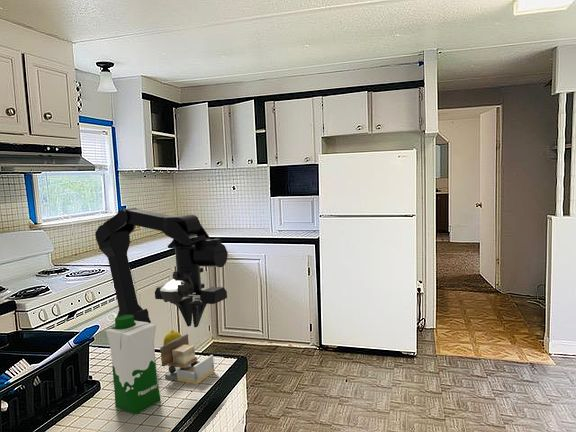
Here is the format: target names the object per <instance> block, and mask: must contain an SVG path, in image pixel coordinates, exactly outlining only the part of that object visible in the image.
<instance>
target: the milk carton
mask: <svg viewBox="0 0 576 432" xmlns="http://www.w3.org/2000/svg"><path fill="white" fill-rule="evenodd" d="M114 322H115V324H114V325H115V326H114V327H113V326H112V327H111V328H109V329H108V328H107V329H106V330H105V331H106V336H107V340H108V345H109V348H110V355H111V356H110V357H111V368H112V377H113V387H114V388H113V390H114V405H115V408H116V409H118V410H122V411H124V412H127V413H130V414H133V415H135V416H137V415H139V414H141V413H142V412H144V411H146V410H147V409H149V408H151V407H152V406H154V405H156V404H157V403H159V402H161V401H162V398H161V393H160V388H159V387H160V386H159V383H158V375H157V363H156V352H155V337H156V329H157V324H154V323H148V322H141V321H135V320H134V316H133V315H130V314H128V315H121V316H118V317H117V316H116V317H115V318H114Z"/></svg>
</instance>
